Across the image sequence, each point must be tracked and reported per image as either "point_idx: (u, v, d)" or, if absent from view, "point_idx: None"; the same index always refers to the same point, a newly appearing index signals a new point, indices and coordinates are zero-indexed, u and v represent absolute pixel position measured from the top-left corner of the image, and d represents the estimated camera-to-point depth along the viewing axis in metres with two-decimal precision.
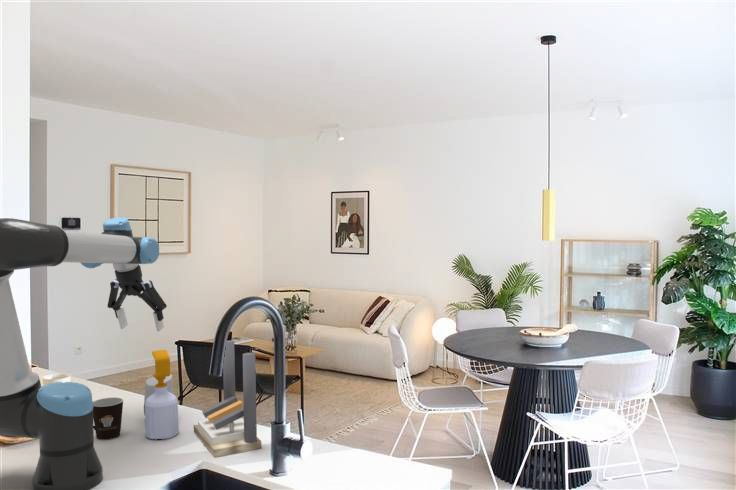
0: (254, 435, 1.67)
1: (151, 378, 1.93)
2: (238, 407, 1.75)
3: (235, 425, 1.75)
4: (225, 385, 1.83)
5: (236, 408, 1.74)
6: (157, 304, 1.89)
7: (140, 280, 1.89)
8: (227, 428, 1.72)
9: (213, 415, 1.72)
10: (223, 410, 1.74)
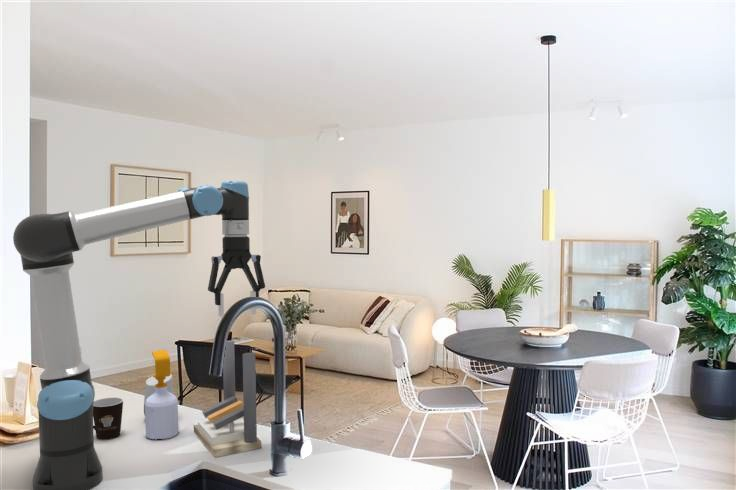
0: (254, 435, 1.67)
1: (151, 378, 1.93)
2: (238, 407, 1.75)
3: (235, 425, 1.75)
4: (225, 385, 1.83)
5: (236, 408, 1.74)
6: None
7: None
8: (227, 428, 1.72)
9: (213, 415, 1.72)
10: (223, 410, 1.74)
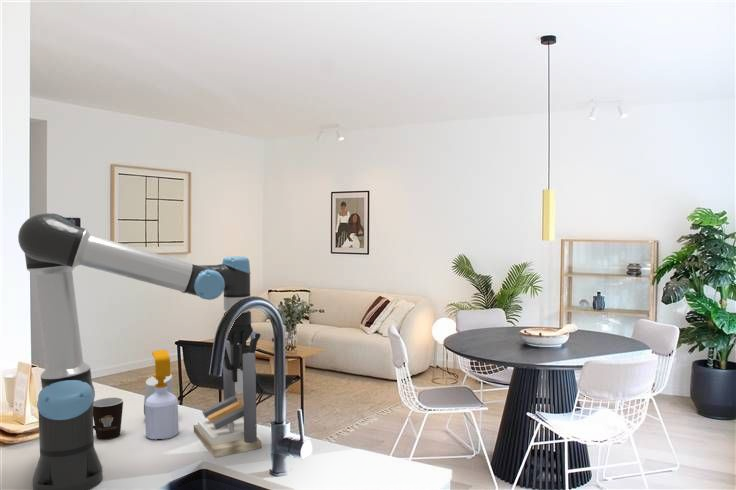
0: (254, 435, 1.67)
1: (151, 378, 1.93)
2: (238, 407, 1.75)
3: (235, 425, 1.75)
4: (225, 385, 1.83)
5: (236, 408, 1.74)
6: None
7: None
8: (227, 428, 1.72)
9: (213, 415, 1.72)
10: (223, 410, 1.74)
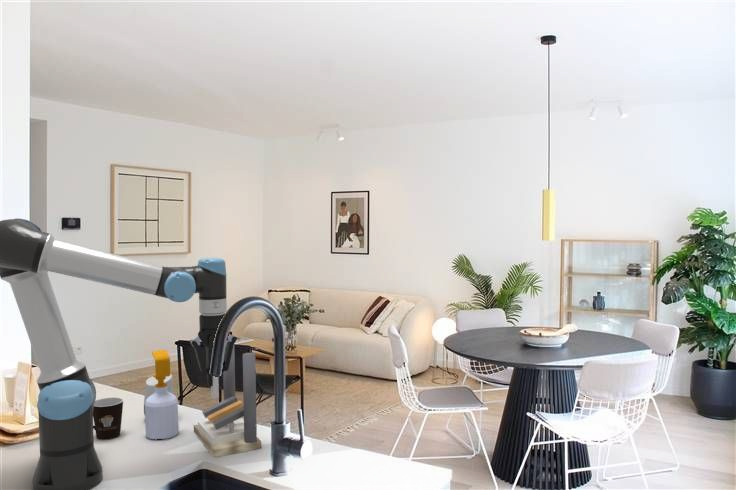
0: (254, 435, 1.67)
1: (151, 378, 1.93)
2: (238, 407, 1.75)
3: (235, 425, 1.75)
4: (225, 385, 1.83)
5: (236, 408, 1.74)
6: None
7: None
8: (227, 428, 1.72)
9: (213, 415, 1.72)
10: (223, 410, 1.74)
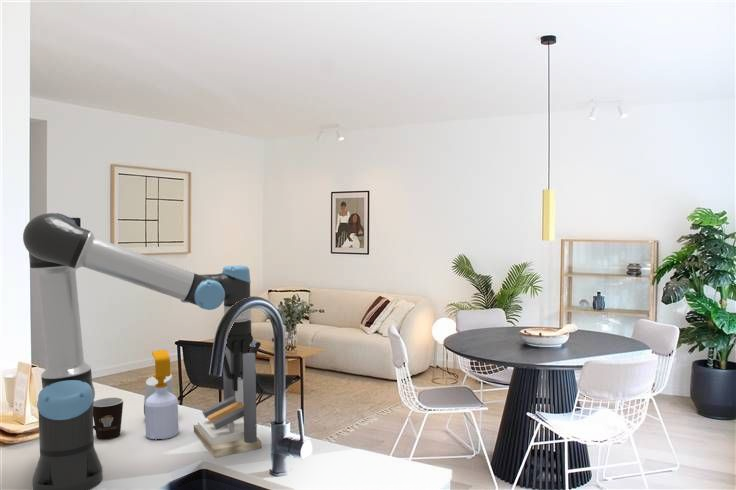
0: (254, 435, 1.67)
1: (151, 378, 1.93)
2: (238, 407, 1.75)
3: (235, 425, 1.75)
4: (225, 385, 1.83)
5: (236, 408, 1.74)
6: None
7: None
8: (227, 428, 1.72)
9: (213, 415, 1.72)
10: (223, 410, 1.74)
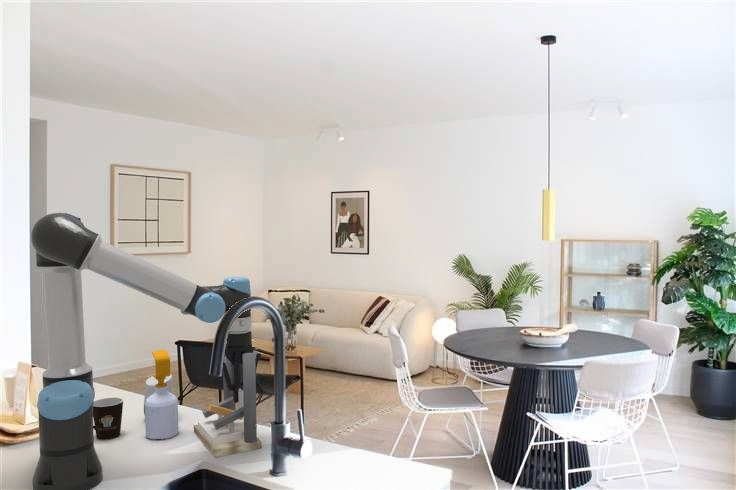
0: (254, 435, 1.67)
1: (151, 378, 1.93)
2: None
3: (235, 425, 1.75)
4: (225, 385, 1.83)
5: None
6: None
7: None
8: (227, 428, 1.72)
9: (215, 406, 1.72)
10: (225, 409, 1.74)
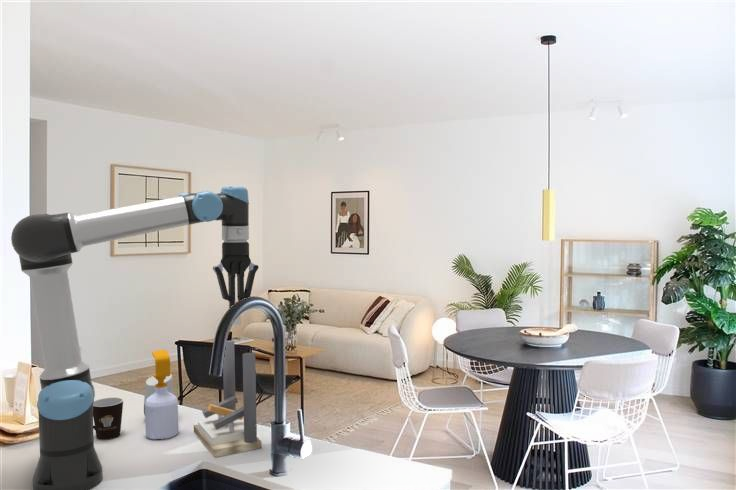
0: (254, 435, 1.67)
1: (151, 378, 1.93)
2: None
3: (235, 425, 1.75)
4: (225, 385, 1.83)
5: None
6: None
7: None
8: (227, 428, 1.72)
9: (215, 406, 1.72)
10: (225, 409, 1.74)
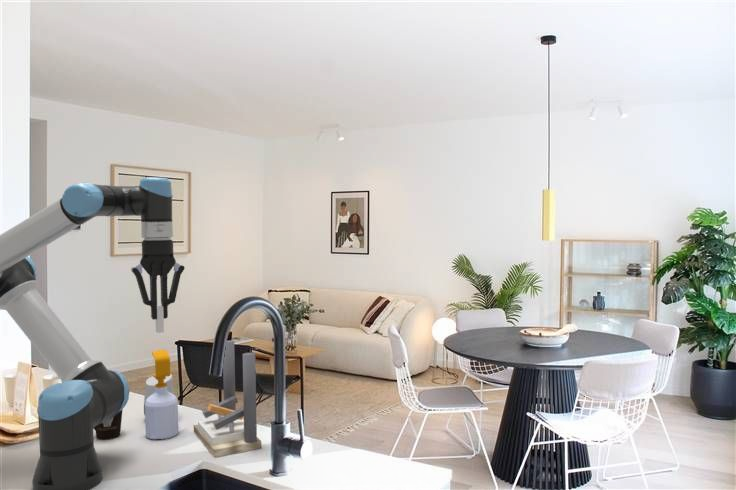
0: (254, 435, 1.67)
1: (151, 378, 1.93)
2: None
3: (235, 425, 1.75)
4: (225, 385, 1.83)
5: None
6: None
7: None
8: (227, 428, 1.72)
9: (215, 406, 1.72)
10: (225, 409, 1.74)
